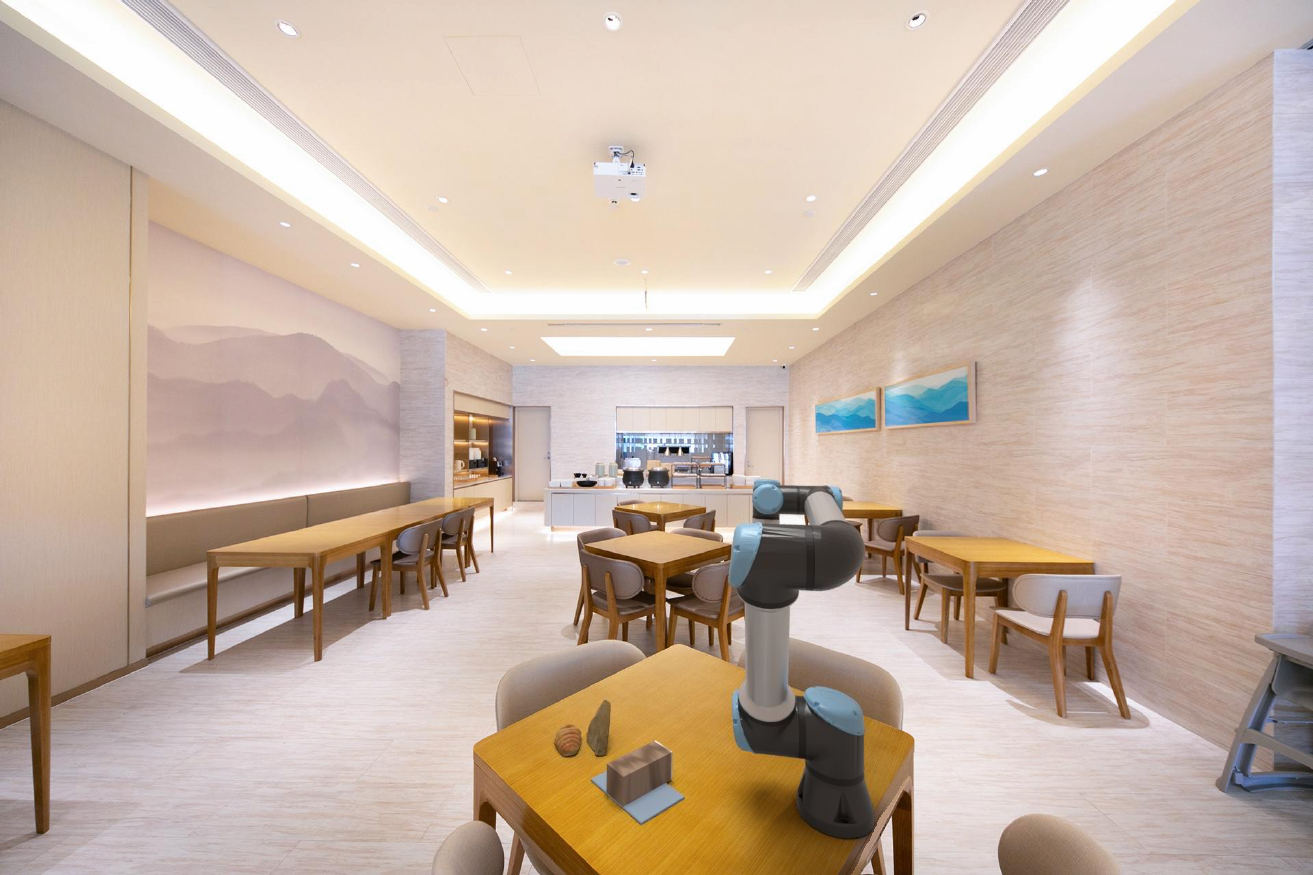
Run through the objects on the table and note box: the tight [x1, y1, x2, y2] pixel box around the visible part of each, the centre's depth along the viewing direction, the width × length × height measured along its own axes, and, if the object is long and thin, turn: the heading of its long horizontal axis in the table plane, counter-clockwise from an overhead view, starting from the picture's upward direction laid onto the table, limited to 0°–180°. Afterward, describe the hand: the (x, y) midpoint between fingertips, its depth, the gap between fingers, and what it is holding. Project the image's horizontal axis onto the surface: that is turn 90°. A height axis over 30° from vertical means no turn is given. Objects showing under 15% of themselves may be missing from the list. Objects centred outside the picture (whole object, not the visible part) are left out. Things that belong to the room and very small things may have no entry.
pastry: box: [554, 723, 583, 757], centre depth 125 cm, size 9×7×4 cm
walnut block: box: [606, 740, 674, 806], centre depth 109 cm, size 6×6×14 cm
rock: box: [585, 699, 612, 756], centre depth 126 cm, size 11×9×10 cm
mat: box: [590, 770, 685, 826], centre depth 109 cm, size 18×12×1 cm, turn 41°
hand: (762, 623), depth 134 cm, fingers closed
